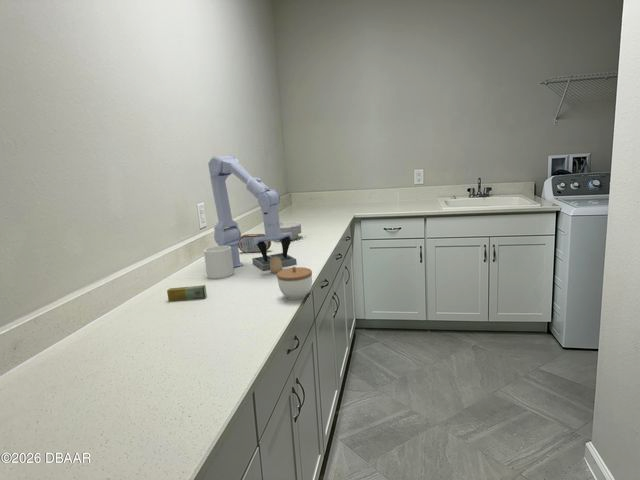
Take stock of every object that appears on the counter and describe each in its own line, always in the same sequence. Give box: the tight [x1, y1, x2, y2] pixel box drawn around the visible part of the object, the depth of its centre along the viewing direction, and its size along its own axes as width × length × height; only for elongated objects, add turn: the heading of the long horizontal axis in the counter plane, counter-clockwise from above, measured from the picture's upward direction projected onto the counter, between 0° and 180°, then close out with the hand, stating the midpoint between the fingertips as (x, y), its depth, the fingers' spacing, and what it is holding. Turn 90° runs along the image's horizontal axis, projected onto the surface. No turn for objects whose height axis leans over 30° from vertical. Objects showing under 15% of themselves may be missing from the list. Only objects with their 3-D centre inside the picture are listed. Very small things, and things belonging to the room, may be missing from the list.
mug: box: [203, 245, 235, 280], centre depth 162 cm, size 13×10×10 cm
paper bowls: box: [278, 221, 302, 242], centre depth 217 cm, size 15×15×8 cm
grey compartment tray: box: [251, 252, 298, 272], centre depth 171 cm, size 14×14×2 cm
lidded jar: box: [276, 266, 313, 301], centre depth 131 cm, size 11×11×9 cm
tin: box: [238, 233, 272, 254], centre depth 194 cm, size 15×3×8 cm, turn 84°
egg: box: [270, 256, 283, 274], centre depth 160 cm, size 4×4×6 cm
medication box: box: [166, 284, 208, 302], centre depth 137 cm, size 12×3×4 cm, turn 91°
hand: (275, 259), depth 159 cm, fingers open, 7 cm apart
